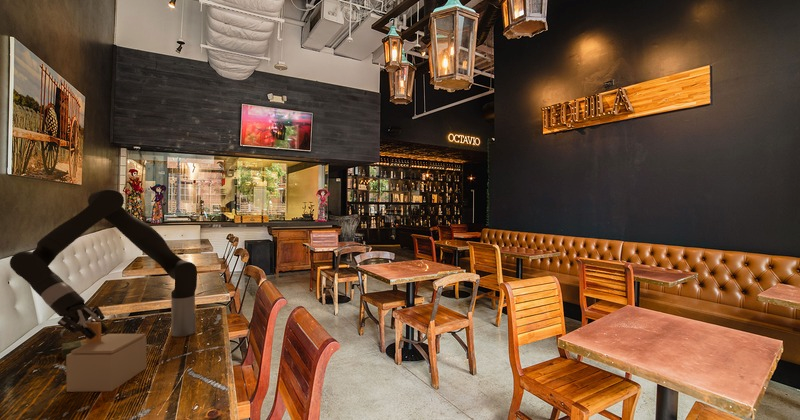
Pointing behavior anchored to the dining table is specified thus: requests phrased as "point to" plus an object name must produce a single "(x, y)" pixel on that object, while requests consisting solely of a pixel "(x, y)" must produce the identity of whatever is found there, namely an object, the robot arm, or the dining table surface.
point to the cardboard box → (105, 368)
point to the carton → (72, 346)
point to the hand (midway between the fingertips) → (99, 334)
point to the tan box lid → (105, 341)
